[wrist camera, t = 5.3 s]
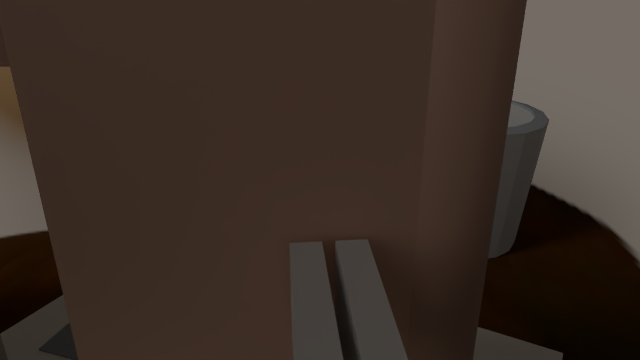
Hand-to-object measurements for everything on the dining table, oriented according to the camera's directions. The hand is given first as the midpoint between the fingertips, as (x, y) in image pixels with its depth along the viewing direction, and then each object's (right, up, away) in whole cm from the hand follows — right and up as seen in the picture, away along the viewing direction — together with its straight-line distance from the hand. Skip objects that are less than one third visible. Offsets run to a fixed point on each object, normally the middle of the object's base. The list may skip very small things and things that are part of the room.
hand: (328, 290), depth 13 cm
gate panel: (-3, -5, +4) cm, 7 cm away
